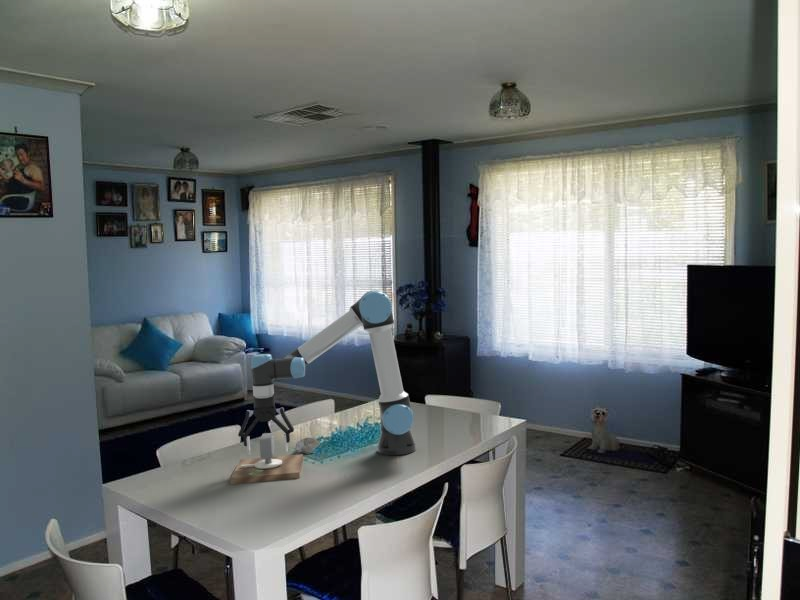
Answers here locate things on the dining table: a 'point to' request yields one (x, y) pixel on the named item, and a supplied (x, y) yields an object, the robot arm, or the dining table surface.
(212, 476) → the dining table surface
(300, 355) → the robot arm
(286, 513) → the dining table surface
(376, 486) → the dining table surface
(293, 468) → the dial board
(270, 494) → the dining table surface
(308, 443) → the fossilized seashell
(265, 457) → the tuning knob
